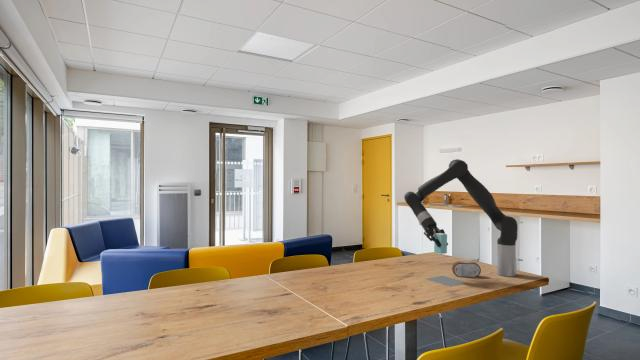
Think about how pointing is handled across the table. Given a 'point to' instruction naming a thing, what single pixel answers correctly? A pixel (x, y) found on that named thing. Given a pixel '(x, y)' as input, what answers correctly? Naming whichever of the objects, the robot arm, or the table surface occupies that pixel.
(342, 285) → the table surface
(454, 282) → the mat
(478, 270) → the tin
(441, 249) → the block
